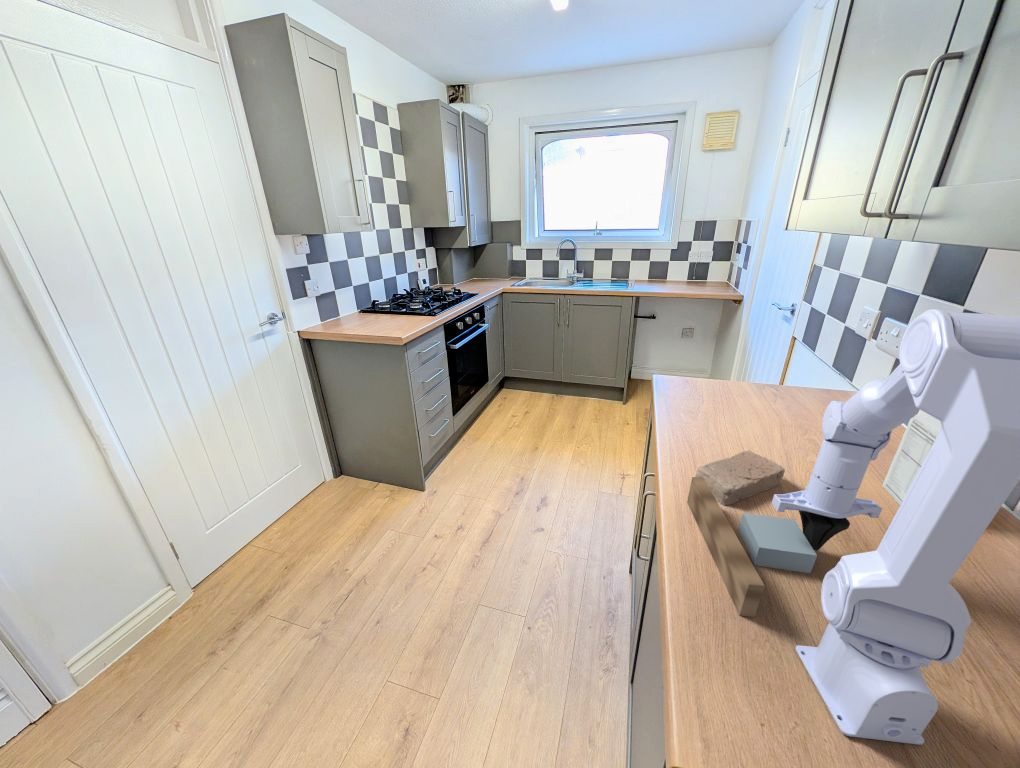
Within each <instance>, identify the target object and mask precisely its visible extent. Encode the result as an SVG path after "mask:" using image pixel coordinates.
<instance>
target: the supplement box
mask: <svg viewBox="0 0 1020 768" xmlns="http://www.w3.org/2000/svg"><path fill="white" fill-rule="evenodd" d="M941 427H942V425H941V421H940V420H938V419H936V418H934V417H933V416H931V415H928V414H927V415H925V414H916V415H915V416H914V417H913V418H911V419H909V420H908V423H907V425H906V428H905V431H904V433H903V435H902V438H901V440H900V443H899V445H898V448H897V449H896V452H895V454H894V456H893V459H892V461H891V464H890V466H889V467H888V471H887V473H886V476H885V478H884V480H883V482H882V485H881V486H882V487H883V488H884V490H885V491H886V492H887V493H888V494H889V495H890V496H891V497H892V499H893V500H894V501H895V502H896V503H898V505H899V506H900V505H901V503H902V502H903V500H904V498H905V496H906V494H907V492H908V490H909V488H910V487H911V485H912V483H913V481H914V479H915V477H916V475H917V473H918V471H919V470H920V468H921V466H922V464H923V462H924V460H925V458H926V456H927V455H928V453H929V451H930V449H931V447H932V445H933V443H934V441H935V440H936V438H937V436H938V434H939V432H940V430H941Z"/></svg>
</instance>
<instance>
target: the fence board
mask: <svg viewBox="0 0 1020 768" xmlns="http://www.w3.org/2000/svg"><path fill="white" fill-rule="evenodd" d="M686 503H687V505H688V507H689V509H690V511H691V514H692V516H693V518H694V520H695V522H696V525H697V527H698V529H699V532H700V533H701V536H702V537H703V540H704V542H705V544H706V546H707V549H708V551H709V553H710V555H711V557H712V560H713V562H714V564H715V565H716V568H717V570H718V572H719V575H720V576H721V578H722V581H723V583H724V585H725V587H726V589H727V592H728V593H729V596H730V598H731V600H732V603H733V604H734V607H735V609H736V611H737V613H738V615H739V616H743V617H753V618H754V617H755V616H756V614H757V610H758V607H759V604H760V601H761V598H762V595H763V592H764V589H765V583H764V582H763V580H762V579H761V577H760V575H759V573H758V572H757V570H756V568H755V565H754V563H753V562H752V560H751V558H750V556H748V554H747V552H746V550H745V548H744V547H743V545H742V543H741V541H740V540H739V539H738V537H737V535H736V532H735V531H734V529H733V528H732V526H731V524H730V522H729V521H728V519H727V517H726V515H725V514H724V512H723V510H722V508H721V507H720V504H719V503H718V502H717V501H716V499H715V498H714V496H713V494H712V492H711V490H710V489H709V487H708V485H707V483H706V482H705V480H704V478H701V477H695V476H692V477H691V482H690V486H689V492H688V496H687V500H686Z"/></svg>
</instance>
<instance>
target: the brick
mask: <svg viewBox="0 0 1020 768" xmlns="http://www.w3.org/2000/svg"><path fill="white" fill-rule="evenodd" d="M785 471H786V470H785V468H784V467H783V466H782V465H780V464H778V463H777V462H774V461H773V460H772V459H771V460H770V459H768V458H766V457H764V456H761V454H758V453H755V452H753V451H752V450H749V449H748V450H743V451H741V452H739V453H737V454H734V455H732V456H730V457H727V458H722V459H720V460H716V461H712V462H709V463H708V464H704V465H702V466H699V467H698V468H697V471H696V473H695V476H694V477H701V478H704V480H705V482H706V483H707V485H708V487H709V489H710V490H711V492H712V494H713V496H714V498H715V499H716V501H717V503H718V504H719V505H722V506H728V505H732V504H735V503H736V502H738V501H740V500H744V499H747V498H748V497H751V496H755V495H757V494H759V493H762V492H765V491H767V490H770V489H772V488H774V487H776V486H778V485H779V484H780V483H781V482H782V480H783V477H784V476H785V475H784V474H785Z"/></svg>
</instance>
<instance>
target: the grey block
mask: <svg viewBox="0 0 1020 768" xmlns="http://www.w3.org/2000/svg"><path fill="white" fill-rule="evenodd" d="M738 531H739V533H740V535H741V538H742V541H743V542H744V546H745V548H746V550H747V553H749V558H750V560H751V562H752V564H753V566H761V567H765V568H772V569H781V570H786V571H793V572H800V573H806V574H812V570H813V567H814V565H815V562H816V560H817V557H818V555H817V553H816V551H814V550H813V548H812V546H811V545H810V543H809V542H808V540H807V539H806V537H805V535H804V534H803V530H802V529H801V528H800V526H799V524H798V523H797V521H796V519H794V518H793V519H792V518H789V517H788V518H786V517H777V516H771V515H763V514H755V513H747V512H743V513H742V515H741V518H740V523H739V527H738Z"/></svg>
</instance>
